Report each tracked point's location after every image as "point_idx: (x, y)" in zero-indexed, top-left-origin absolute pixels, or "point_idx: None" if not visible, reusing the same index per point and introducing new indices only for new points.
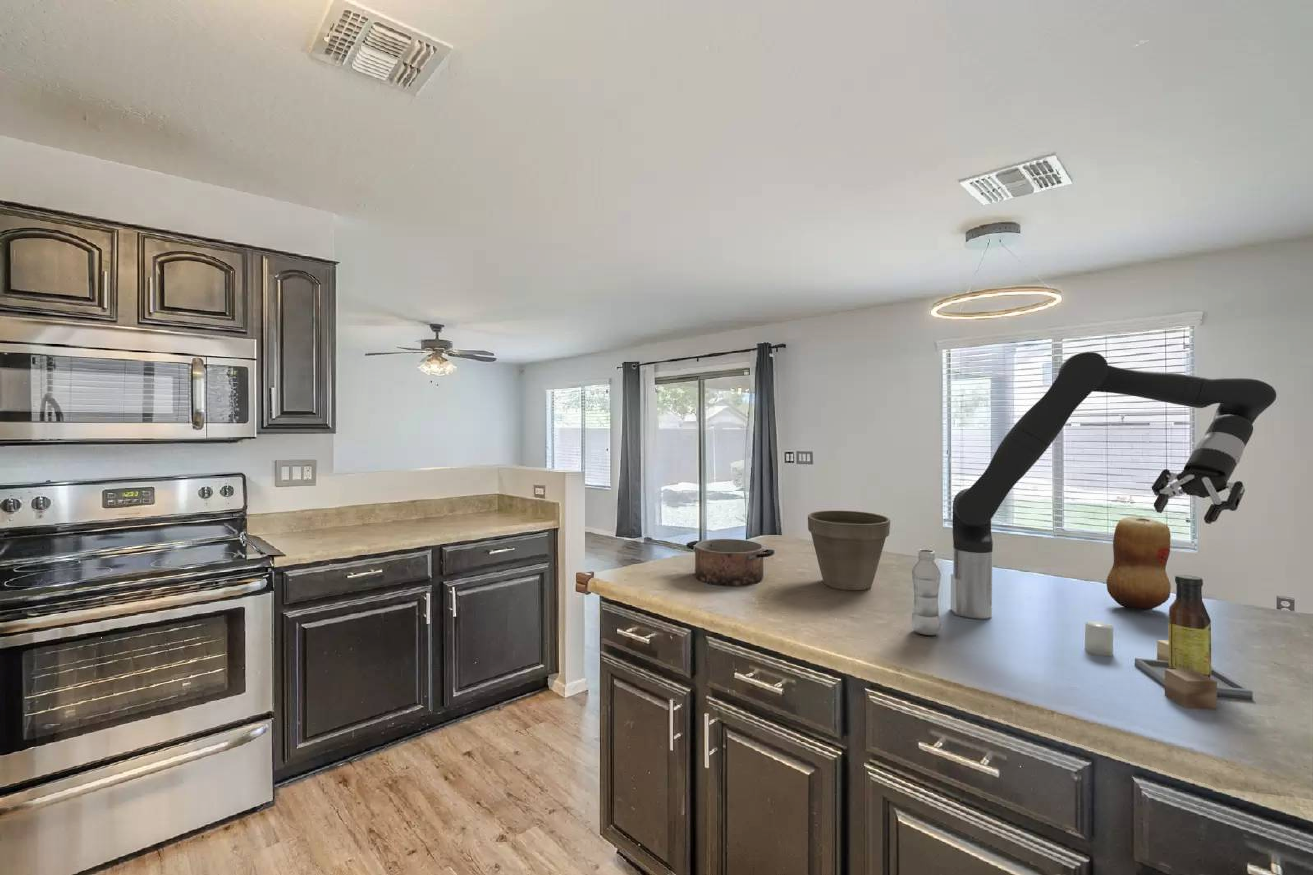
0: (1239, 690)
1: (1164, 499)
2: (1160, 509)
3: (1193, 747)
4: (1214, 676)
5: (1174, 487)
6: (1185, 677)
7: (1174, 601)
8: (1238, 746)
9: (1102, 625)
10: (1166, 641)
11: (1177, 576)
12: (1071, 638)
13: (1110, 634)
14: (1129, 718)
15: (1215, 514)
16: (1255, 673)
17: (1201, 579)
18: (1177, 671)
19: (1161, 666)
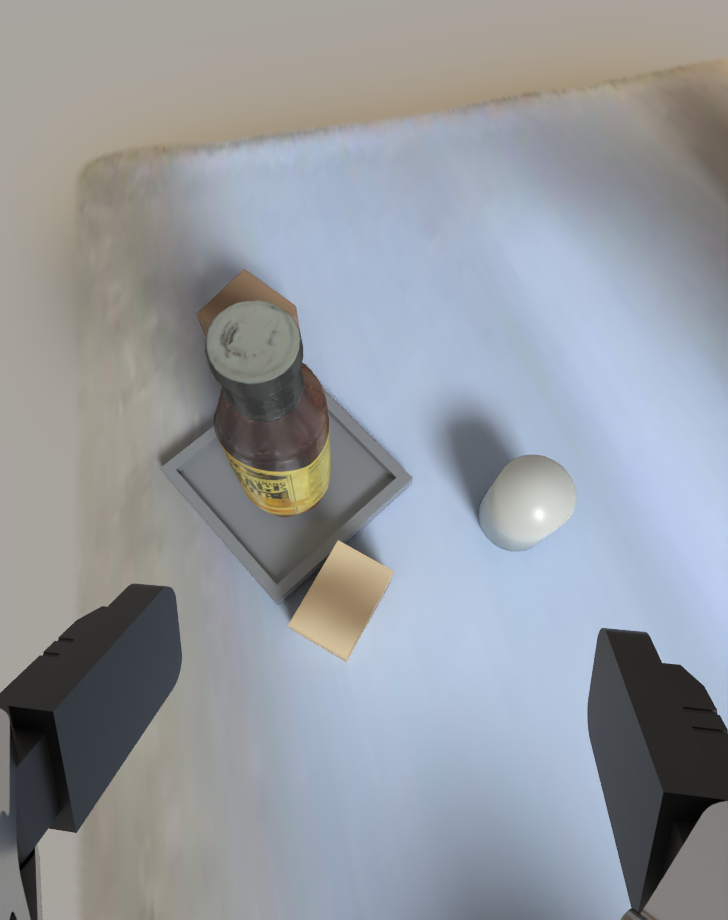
0: (182, 451)
1: (638, 754)
2: (596, 676)
3: (208, 157)
4: (249, 547)
5: (629, 913)
6: (250, 285)
7: (308, 383)
8: (157, 213)
9: (528, 497)
10: (372, 583)
11: (286, 314)
12: (619, 576)
13: (493, 487)
14: (308, 181)
15: (62, 642)
16: (183, 719)
17: (206, 338)
18: None
19: (358, 509)
